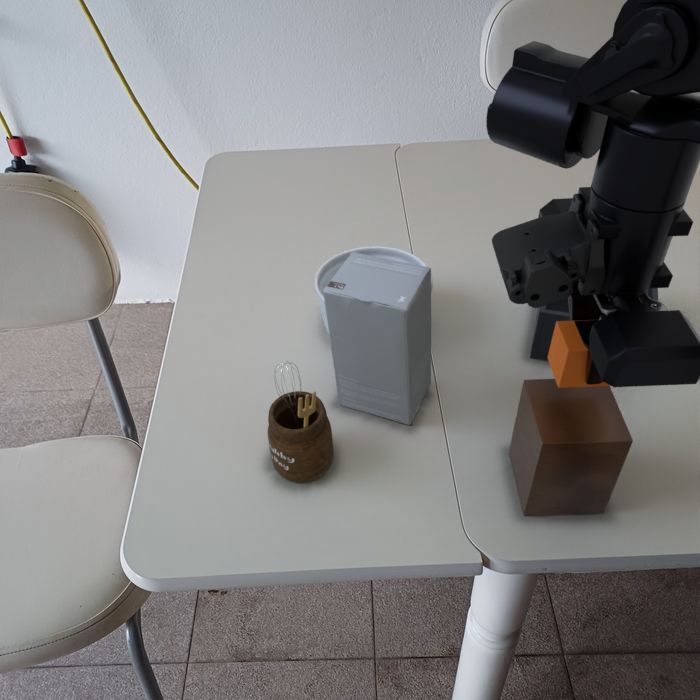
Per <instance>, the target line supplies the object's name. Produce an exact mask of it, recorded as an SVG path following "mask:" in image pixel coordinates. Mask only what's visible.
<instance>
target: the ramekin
mask: <svg viewBox="0 0 700 700" xmlns="http://www.w3.org/2000/svg"><path fill="white" fill-rule="evenodd" d="M352 252H355V253H360V254H365V255H370V256H374V257H379V258H384V259H389V260H394V261H399V262H404V263H409V264H414V265H419V266H424V267H429V266H428V265H427V264H426V263H425V262H424V261H423V260H422V259H421V258H420V257H418V256H417V255H415V254H413V253H411V252H408V251H406V250H403V249H400V248H396V247H392V246H391V247H390V246H379V245H372V246H370V245H369V246H360V247H356V248H351V249H347V250H345V251H342V252H338V253H337V254H335V255H333V256H331V257H330V258H328V259H327V260H326V261H325V262H323V264H321V266H319V268H318V270H317V271H316V274H315V276H314V280H313V282H314V283H313V284H314V295H315V298H316V301H317V303H318V304H319V309H320V312H321V317H322V320H323V324H324V327H325V329H326V331H327V334H329V327H328V321H327V314H326V307H325V301H324V295H323V290H324V289H325V287H326V286H327V285H328V283H329V282H330V281H331V279H332V278H333V277H334V275H335V274H336V273H337V272H338V270H339V269H340V268H341V266H342V265H343V264H344V262H345V261H346V260H347V258H348V257H349V256H350V254H351V253H352ZM432 294H433V274H432V273H431V295H432Z"/></svg>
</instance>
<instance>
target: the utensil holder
mask: <svg viewBox="0 0 700 700" xmlns="http://www.w3.org/2000/svg"><path fill="white" fill-rule="evenodd" d="M292 365H294V366H292ZM284 366H285V368H286V369H287V373H288V375H289V378H290V381H291V387H292V391H288V388H287V383H286V381H285V376H284V372H283V368H284ZM287 366H289V367H290V369H291V373H292V377H291V374H290V371H289V369H288V367H287ZM274 367H275V368H274V371H273V372H274V376H273V379H274V380H275V381H274V384H275V389H276V392H277V395H278V397H277V398H276V399H275V400H274V401H273V402H272V404H271V405H270V407H269V410H268V417H267V419H268V421H267V422H268V426H267V441H268V448H269V453H270V458H271V461H272V465H273V467H274V469H275V471H276V472H277V473H278V475H280V476H281V477H282V478H284V479H285V480H286V481H290V482H294V483H309V482H312V481H315V480H317V479H319V478H320V477H322V476H324V475H325V474H326V473H327V472H328V470H329V469H330V468H331V465H332V464H333V459H334V441H333V431H332V426H331V422H330V419H329V417H328V415H327V414H328V413H327V409H326V407H325V404H324V403H323V401H322V400H321V398H320V397H318V396H317V392H316V391H313V392H312V393H311V392H308V391H303V390H302V380H301V379H302V378H301V375H300V370H299V368H298V366H297V365H296V364H295V363H292V362H289V361H285V362H283V361H282V362H280V363H279V364H277V365H276V366H274ZM294 367H296V369H297V370H296V369H294ZM279 368H280V369H281V370H280V374H281V375H282V377H283V380H282V379H280V382H281V384H283V382H284V385H285V389H286V393H285V391H284V386H283V385H281V387H282V392H283V393H282V392H281V390H280V388H279V384H278V382H277V381H278V380H276V379H277V376H276V373H277V370H279ZM293 369H294V371H295V372H296V374H297V377H298V381H299V386H300V388H299V390H297V391H296V384H295V381H292V378H293V380H295V377H294V372H293Z"/></svg>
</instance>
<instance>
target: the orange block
mask: <svg viewBox="0 0 700 700" xmlns="http://www.w3.org/2000/svg"><path fill="white" fill-rule="evenodd" d="M577 321H584V320H577ZM587 353H588V349H587V348H586V347H585V346H584V344H583V341H582V339H581V337H580V334H579V332H578V330H577V328H576V325H575V323H574V321H556V325H555V329H554V333H553V337H552V341H551V345H550V349H549V353H548V357H547V358H548V361H547V362H548V363H549V366H550V369H551V372H552V374H553V377H554V379H555V380H556V383H557V386H558V388H571V387H597V386H610V387H612V386H611V385H609V384H607V383H605V382H602V383H600V384H592V385H588V384H587V383H586V381H585V375H586V362H587Z"/></svg>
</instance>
